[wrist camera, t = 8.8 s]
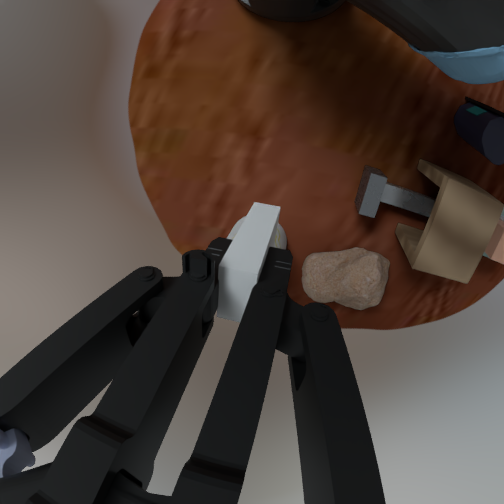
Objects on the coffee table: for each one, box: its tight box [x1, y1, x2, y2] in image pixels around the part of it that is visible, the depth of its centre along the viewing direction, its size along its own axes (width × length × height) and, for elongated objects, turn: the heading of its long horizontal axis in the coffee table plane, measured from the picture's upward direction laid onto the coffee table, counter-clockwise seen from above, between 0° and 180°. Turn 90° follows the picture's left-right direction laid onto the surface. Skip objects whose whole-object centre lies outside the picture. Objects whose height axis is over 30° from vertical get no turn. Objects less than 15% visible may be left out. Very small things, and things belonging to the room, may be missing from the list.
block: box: [485, 220, 504, 264], centre depth 28 cm, size 5×5×5 cm
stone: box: [302, 247, 390, 310], centre depth 38 cm, size 12×9×10 cm
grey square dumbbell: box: [355, 165, 504, 222], centre depth 30 cm, size 6×26×5 cm, turn 82°
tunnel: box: [395, 159, 504, 284], centre depth 29 cm, size 11×9×9 cm
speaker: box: [454, 97, 504, 165], centre depth 21 cm, size 8×6×10 cm
